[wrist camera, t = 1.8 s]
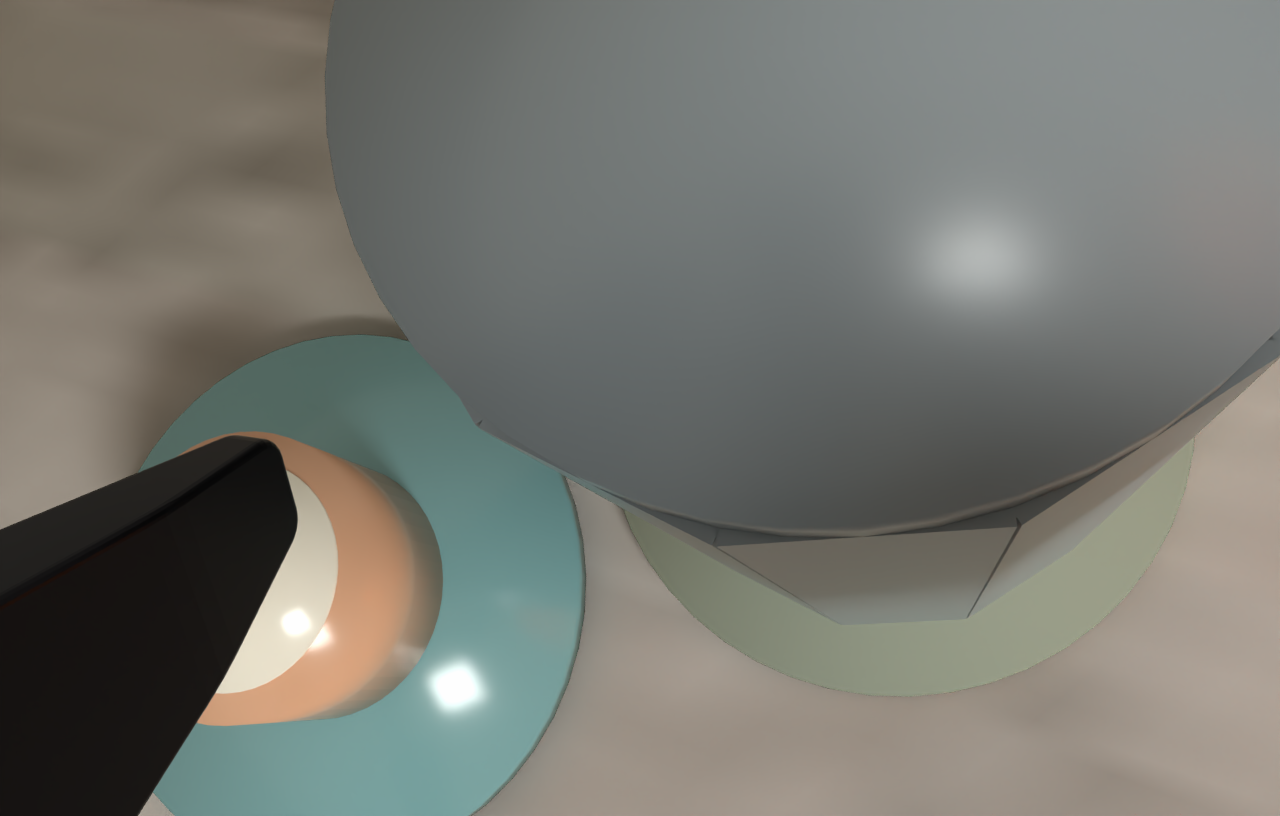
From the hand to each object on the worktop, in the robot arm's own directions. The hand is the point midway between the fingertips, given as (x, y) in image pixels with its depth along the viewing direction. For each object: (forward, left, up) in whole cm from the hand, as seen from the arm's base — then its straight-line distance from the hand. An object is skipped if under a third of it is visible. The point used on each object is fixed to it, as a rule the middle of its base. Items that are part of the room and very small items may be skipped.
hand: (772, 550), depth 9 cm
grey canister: (+3, +3, -11) cm, 11 cm away
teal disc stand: (-8, +6, -11) cm, 15 cm away
